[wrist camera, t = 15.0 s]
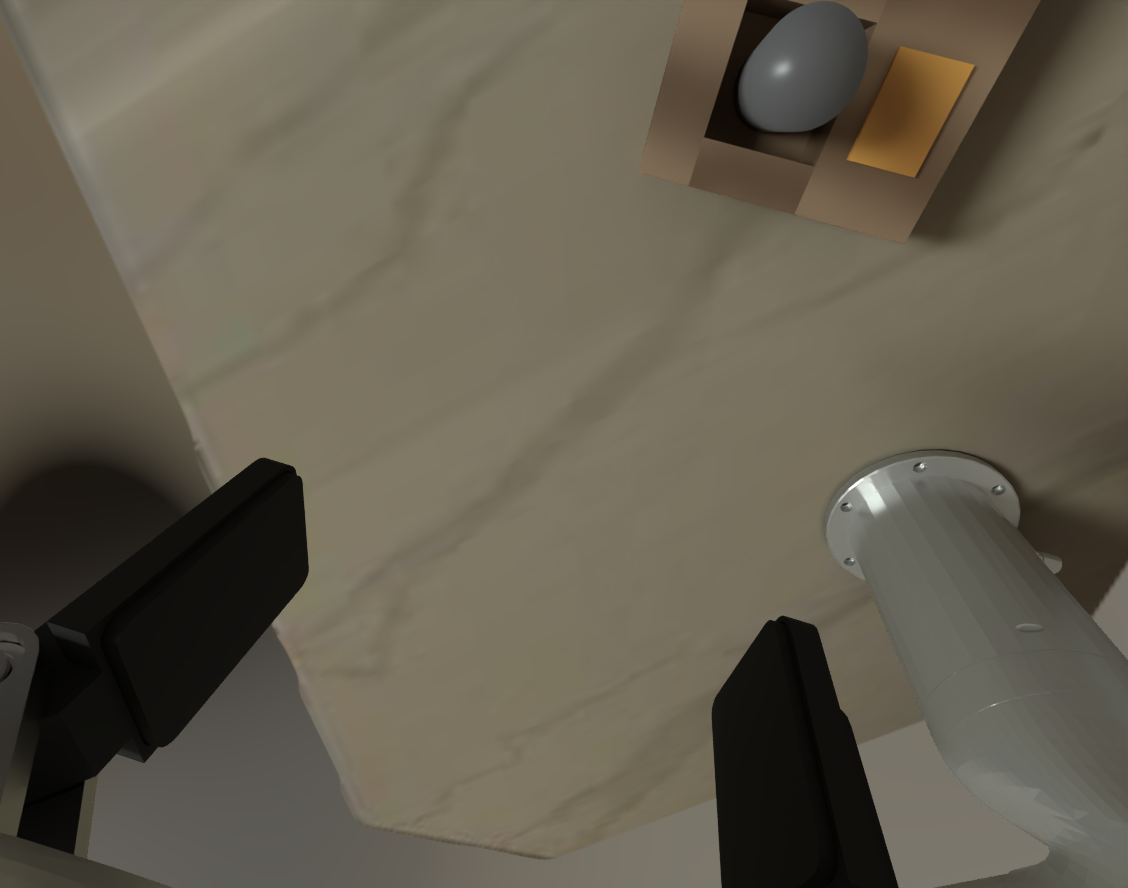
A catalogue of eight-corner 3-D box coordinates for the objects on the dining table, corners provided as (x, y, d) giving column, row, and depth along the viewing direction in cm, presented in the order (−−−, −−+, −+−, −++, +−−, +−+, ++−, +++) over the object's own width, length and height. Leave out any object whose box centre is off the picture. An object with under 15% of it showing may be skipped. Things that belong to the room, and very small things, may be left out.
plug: (829, 50, 26) (890, 15, 18) (793, 140, 28) (834, 142, 20) (751, 31, 26) (779, -11, 18) (721, 122, 28) (736, 117, 21)
